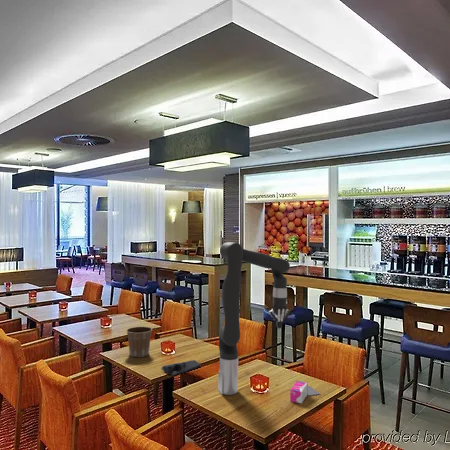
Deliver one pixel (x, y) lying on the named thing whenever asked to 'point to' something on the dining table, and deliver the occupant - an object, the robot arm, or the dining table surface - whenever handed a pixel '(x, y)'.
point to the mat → (312, 391)
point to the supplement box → (299, 392)
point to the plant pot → (139, 341)
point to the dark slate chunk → (180, 367)
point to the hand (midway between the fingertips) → (279, 328)
